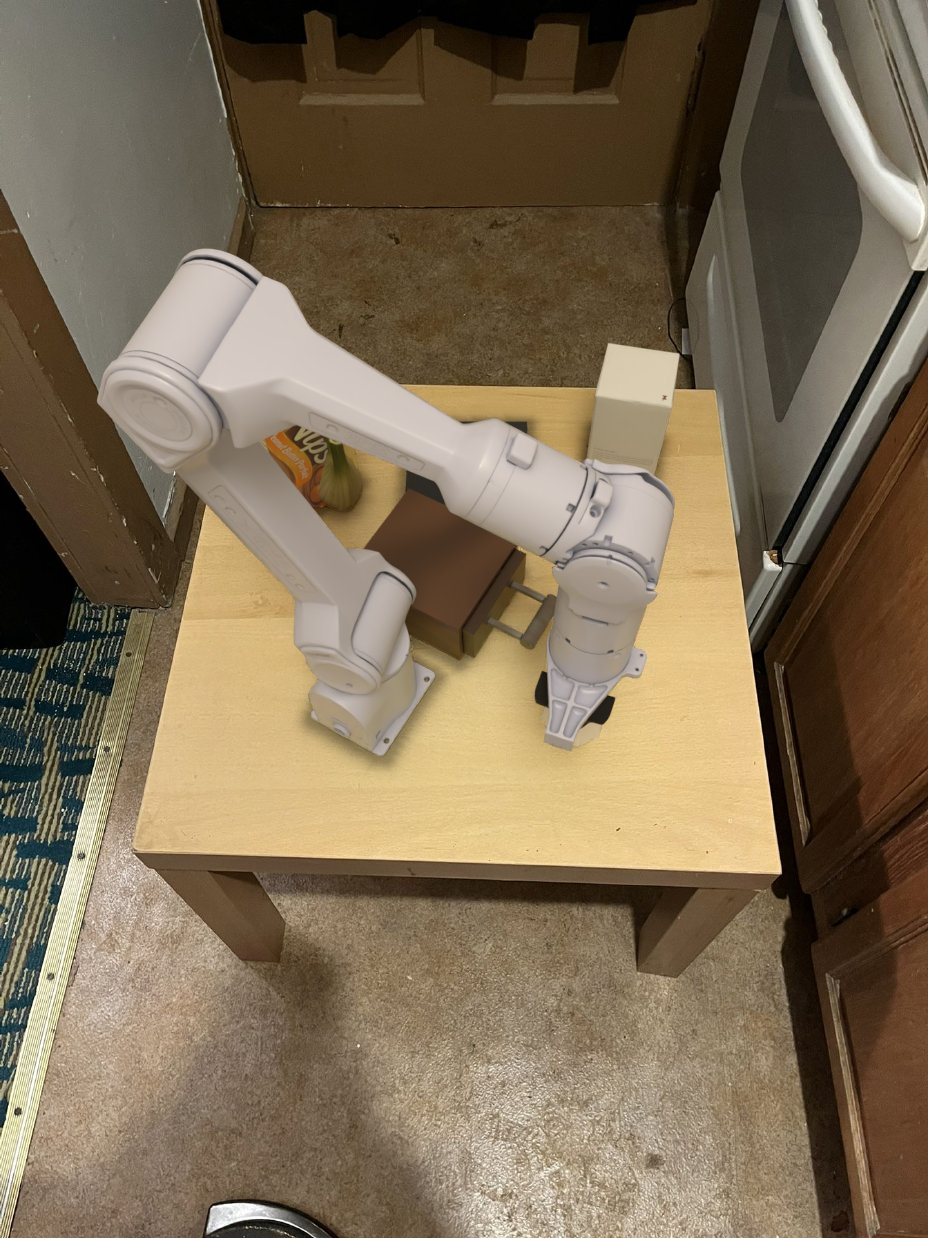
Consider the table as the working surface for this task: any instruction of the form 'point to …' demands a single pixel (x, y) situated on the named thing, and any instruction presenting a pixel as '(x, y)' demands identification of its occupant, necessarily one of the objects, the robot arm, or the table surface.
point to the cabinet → (440, 566)
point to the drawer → (497, 602)
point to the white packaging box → (632, 406)
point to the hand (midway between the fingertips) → (577, 699)
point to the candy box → (302, 459)
